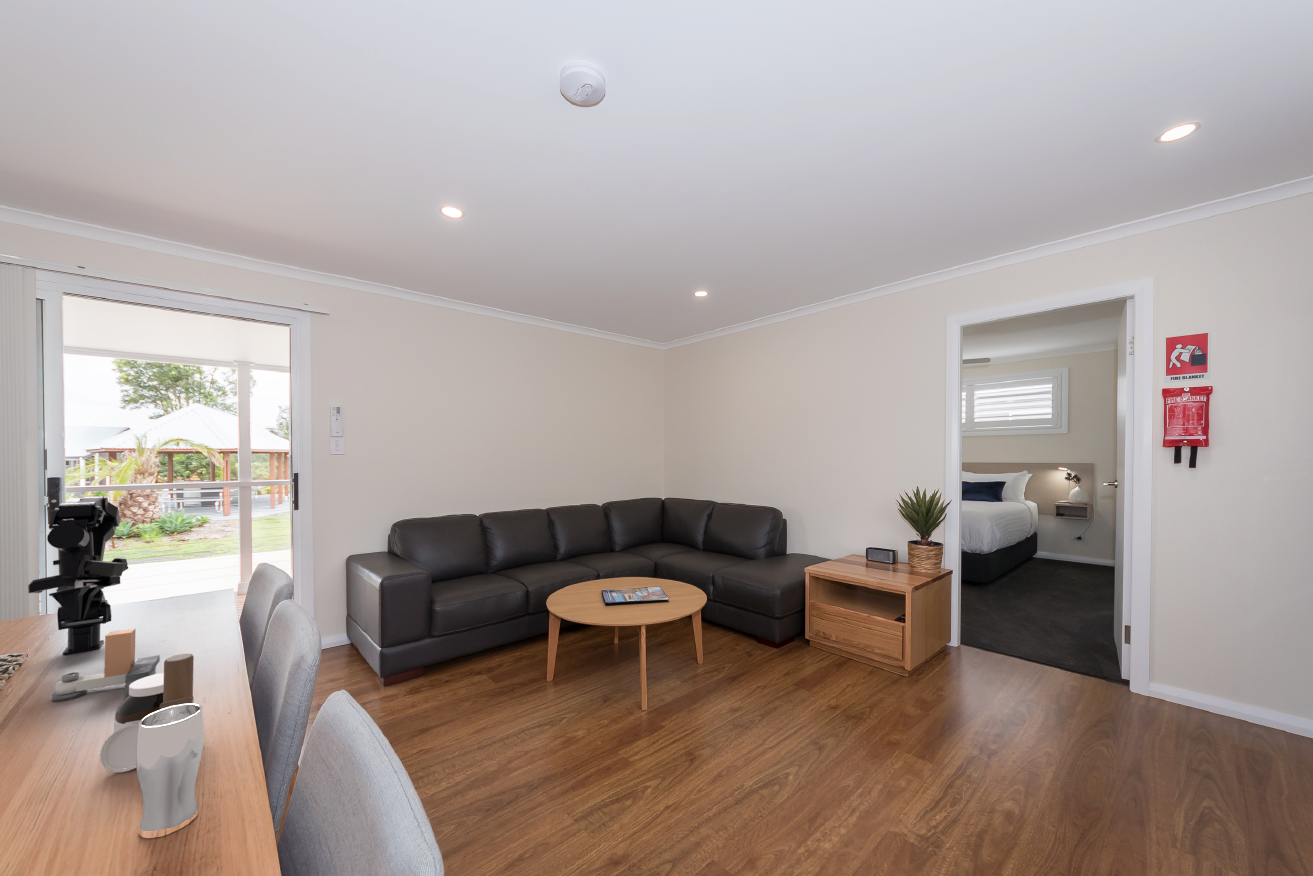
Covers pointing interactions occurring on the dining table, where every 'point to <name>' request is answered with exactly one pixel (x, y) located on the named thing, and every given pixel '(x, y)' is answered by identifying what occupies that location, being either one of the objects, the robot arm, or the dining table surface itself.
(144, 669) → the dark grey block
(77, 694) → the pintle plate
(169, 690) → the wooden block
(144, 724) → the beer glass
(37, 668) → the dining table surface
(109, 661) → the link
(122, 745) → the spread jar
